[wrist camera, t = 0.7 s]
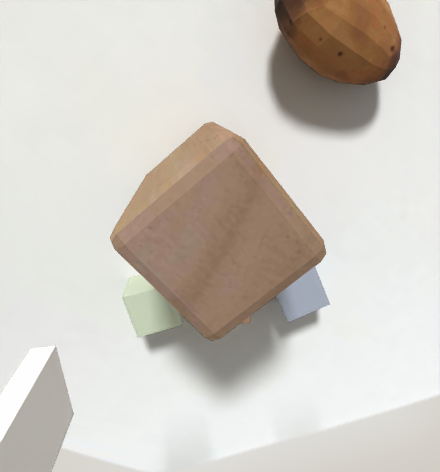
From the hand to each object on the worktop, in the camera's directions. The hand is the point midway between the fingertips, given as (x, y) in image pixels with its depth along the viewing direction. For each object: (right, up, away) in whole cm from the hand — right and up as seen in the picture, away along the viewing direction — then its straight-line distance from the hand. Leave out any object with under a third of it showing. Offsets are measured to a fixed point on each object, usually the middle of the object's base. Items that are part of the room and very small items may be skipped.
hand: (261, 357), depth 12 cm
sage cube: (-9, -2, +32) cm, 33 cm away
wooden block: (-3, +10, +29) cm, 30 cm away
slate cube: (+7, -1, +33) cm, 34 cm away
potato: (+9, +24, +25) cm, 36 cm away
